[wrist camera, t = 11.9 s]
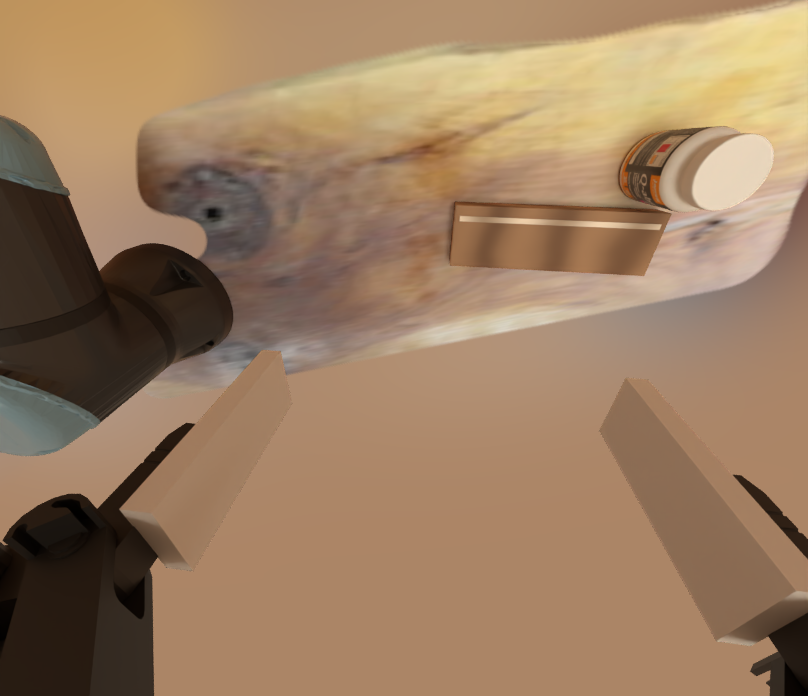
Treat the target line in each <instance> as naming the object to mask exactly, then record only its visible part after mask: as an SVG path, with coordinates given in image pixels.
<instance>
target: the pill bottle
mask: <svg viewBox="0 0 808 696" xmlns="http://www.w3.org/2000/svg"><path fill="white" fill-rule="evenodd" d="M773 160H774V150H773V147H772V145H771V143H770V141H769V140H768V139H767V138H765V137H764V136H761V135H758V134H751V133H740V132H739V131H737V130H736V129H733V128H729V127H725V126H717V127H705V128H692V129H681V130H669V131H662V132H658V133H655V134H652V135H650V136H648V137H646V138H644V139H643V140H641V141H640V142H639V143H638V144H637V145H636V146H635V147H634V148H633V149H632V150H631V151H630V152H629V154H628V155H627V157H626V159H625V161H624V163H623V165H622V167H621V171H620V186H621V189H622V190H623V192H624V193H625V195H627V196H628V197H629V198H631V199H633V200H636V201H639V202H643V203H646V204H650V205H654V206H658V207H661V208H665V209H668V210H671V211H676V212H693V211H698V210H701V209H703V210H709V211H718V210H724V209H728V208H730V207H733V206H735V205H737V204H739V203H741V202H742V201H744V200H745V199H747V198H748V197H750V196H751V195H752V194H753V193H754V192H755V191H756V190H757V189H758V188H759V187H760V186H761V185H762V183H763V182H764V181H765V179H766V178H767V176H768V174H769V172H770V170H771V168H772V165H773Z"/></svg>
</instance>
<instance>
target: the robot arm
mask: <svg viewBox="0 0 808 696" xmlns="http://www.w3.org/2000/svg"><path fill="white" fill-rule="evenodd" d="M68 195H70V193H69V190H68V189H67V188H65V187H64V186H63V184H62V182H61V180H60V178H59V176H58V174H57V172H56V170H55V168H54V166H53V164H52V162H51V160H50V158H49V156H48V153H47V151H46V149H45V147H44V146H43V144H42V142H41V141H40V140H39V138H38V137H37V136H36V135H35V134H34V133H33V132H31V131H30V130H29V129H28V128H26V127H25V126H23V125H21V124H20V123H18V122H16V121H14V120H12V119H9V118H7V117H4V116H1V115H0V452H1V453H7V454H13V455H19V456H39V455H46V454H50V453H52V452H56V451H58V450H60V449H62V448H64V447H65V446H67V445H68V444H70V443H71V442H73V441H74V440H75V439H77V438H78V437H80V436H81V435H82V434H84V433H85V432H87V431H88V430H89V429H93V428H95V427H96V426H97V425H98V424H100V422H102V421H103V420H104V419H105V418H106V417H108V416H109V415H110V414H111V413H112V412H114V411H115V410H116V409H117V408H118V407H120V406H121V405H122V404H123V403H125V402H126V401H127V400H128V399H129V398H131V397H132V396H133V395H134V394H135V393H137V392H138V391H139V390H140V389H142V388H143V387H144V386H145V385H146V384H148V383H149V382H150V381H151V380H152V379H154V378H155V377H156V376H157V375H158V374H160V373H161V372H162V371H163V370H165V369H166V368H167V367H168V366H170V365H171V364H173V363H176V362H179V361H182V360H185V359H188V358H191V357H194V356H197V355H199V354H202V353H205V352H207V351H209V350H211V349H213V348H214V347H215V346H216V345H218V344H219V343H220V342H221V341H222V340H223V339H224V338H225V337H226V336H227V335H228V333H229V331H230V329H231V326H232V308H231V304H230V301H229V298H228V296H227V294H226V292H225V290H224V288H223V287H222V285H221V284H220V282H219V281H218V279H217V278H216V277H215V276H214V275H213V274H212V272H211V271H210V270H209V269H208V268H207V267H205V266H204V265H203V264H202V263H201V262H199V261H198V260H197V259H195V258H194V257H192V256H191V255H189V254H187V253H185V252H183V251H181V250H179V249H177V248H174V247H171V246H168V245H163V244H156V243H152V244H151V243H150V244H142V245H139V246H136V247H133V248H130V249H127V250H124V251H122V252H120V253H119V254H117V255H116V256H115V257H114V258H112V260H110V261H109V263H107V264H106V265H105V266H104V267H103V268H102V269H101V270H100V271H99V270H98V268H97V266H96V263H95V261H94V258H93V256H92V253H91V251H90V249H89V247H88V244H87V242H86V239H85V237H84V235H83V232H82V230H81V227H80V225H79V222H78V220H77V217H76V214H75V212H74V209H73V207H72V204H71V202H70V199H69V198H68ZM291 404H292V400H291V396H290V391H289V387H288V383H287V378H286V373H285V369H284V364H283V360H282V356H281V351H269V350H262V351H261V352H260V353H259V354H258V355H257V356H256V357H255V358H254V360H253V361H252V362H251V363H250V364H249V365H248V366H247V367H246V368H245V370H244V371H243V372H242V373H241V374H240V375H239V376H238V377H237V379H236V380H235V381H234V382H233V383H232V384H231V385H230V386H229V387H228V389H227V390H226V391H225V392H224V393H223V394H222V395H221V397H219V399H218V400H217V401H216V402H215V403H214V404H213V405H212V406H211V408H210V409H209V410H208V411H207V412H206V413H205V414H204V415H203V416H202V418H201V419H200V420H199V421H198V422H197V423H196V424H192V423H185V424H184V425H182V426H181V427H179V428H178V429H176V430H175V431H173V432H172V433H170V434H169V435H168V436H167V437H166V438H165V439H164V440H163V441H162V442H161V443H160V444H159V445H158V446H157V447H156V448H155V451H152V452H151V453H150V454H149V456H148V457H147V458H146V459H145V460H144V463H141V464H140V465H139V466H138V467H137V468H136V469H135V470H134V471H133V472H132V473H131V474H130V475H129V476H128V477H127V479H125V480H124V482H123V483H122V484H121V485H120V486H119V487H118V488H117V489H116V490H115V491H114V492H113V493H112V494H111V495H110V496H109V497H108V498H107V499H106V500H105V501H104V502H103V503H102V504H101V506H100V507H99V508H98V509H96V507H95V506H94V505H93V504H92V503H91V502H90V501H89V499H88V498H86V497H85V496H83V495H81V494H66V495H63V496H59V497H55V498H53V499H51V500H48V501H46V502H44V503H42V504H40V505H38V506H37V507H35V508H34V509H32V510H31V511H29V512H28V513H26V514H25V515H23V516H22V517H21V518H20V519H19V520H18V521H17V522H16V523H15V524H14V525H13V526H12V527H11V528H10V529H9V531H8V532H7V534H6V536H5V537H4V539H3V541H4V542H5V543H6V544H8V545H3V544H2V543H1V542H0V696H154V667H153V604H152V603H153V601H152V575H151V572H150V568H151V566H152V565H153V563H154V562H155V560H156V559H157V557H158V558H159V559H160V561H161V562H162V563H163V564H164V566H165V567H166V568H172V569H180V570H187V571H194V569H195V567H196V565H197V564H198V562H199V560H200V559H201V557H202V555H203V554H204V552H205V550H206V549H207V547H208V545H209V543H210V542H211V540H212V538H213V537H214V535H215V533H216V532H217V530H218V528H219V527H220V525H221V523H222V521H223V520H224V518H225V516H226V515H227V513H228V511H229V510H230V508H231V506H232V504H233V502H234V501H235V499H236V497H237V496H238V494H239V493H240V491H241V489H242V488H243V486H244V484H245V482H246V481H247V479H248V477H249V476H250V474H251V472H252V471H253V469H254V467H255V466H256V464H257V462H258V460H259V459H260V457H261V455H262V454H263V452H264V450H265V448H266V447H267V445H268V443H269V442H270V440H271V438H272V437H273V435H274V433H275V431H276V430H277V428H278V427H279V425H280V423H281V421H282V420H283V418H284V416H285V415H286V413H287V411H288V410H289V408H290V406H291ZM600 433H601V435H602V437H603V438H604V440H605V442H606V444H607V446H608V447H609V449H610V451H611V453H612V454H613V456H614V458H615V460H616V462H617V464H618V465H619V467H620V469H621V471H622V473H623V474H624V476H625V478H626V480H627V482H628V483H629V485H630V487H631V489H632V490H633V492H634V494H635V496H636V498H637V500H638V501H639V503H640V505H641V506H642V509H643V510H644V512H645V514H646V516H647V518H648V519H649V521H650V523H651V525H652V527H653V528H654V530H655V532H656V534H657V535H658V537H659V539H660V541H661V542H662V544H663V546H664V548H665V550H666V551H667V553H668V555H669V557H670V559H671V561H672V562H673V564H674V566H675V568H676V570H677V571H678V573H679V575H680V577H681V579H682V580H683V582H684V584H685V586H686V587H687V589H688V591H689V593H690V595H691V596H692V598H693V600H694V602H695V604H696V606H697V607H698V609H699V611H700V613H701V615H702V616H703V618H704V620H705V622H706V623H707V625H708V627H709V629H710V631H711V633H712V634H713V636H714V638H715V640H716V641H719V642H726V643H734V644H741V645H749V646H752V645H753V644H755V643H757V642H759V641H761V640H762V639H764V638H766V637H769V638H770V639H771V641H772V642H773V644H774V645H775V647H776V648H777V650H778V652H776V653H774V654H772V655H770V656H768V657H766V658H765V659H763V660H761V661H758V662H757V663H755V664H753V666H752V668H751V671H750V672H752V673H753V674H754V675H756V676H758V675H760V674H762V673H765V672H767V671H769V670H771V674H770V680H769V681H767V682H766V684H768V685H769V686H770V696H808V539H807V538H806V537H805V536H804V535H803V534H802V533H799V532H798V528H797V527H796V526H795V525H794V524H793V523H792V522H791V521H790V520H789V519H788V518H787V517H786V516H783V514H782V511H781V510H780V509H779V508H778V507H777V506H776V505H775V504H774V503H773V502H772V501H771V500H770V498H769V497H767V495H766V494H765V493H764V492H763V491H761V490H760V489H758V488H757V487H756V486H754V485H753V484H752V483H750V482H749V481H747V480H746V479H745V478H744V477H742V476H740V475H732V474H731V473H730V472H729V471H728V469H727V468H726V467H725V466H724V465H723V464H722V463H721V461H720V460H719V459H718V458H717V457H716V456H715V455H714V454H713V452H712V451H711V450H710V449H709V448H708V447H707V446H706V445H705V443H704V442H703V441H702V440H701V439H700V438H699V437H698V436H697V434H695V432H694V431H693V430H692V429H691V428H690V427H689V425H688V424H687V423H686V422H685V421H684V420H683V419H682V418H681V416H680V415H679V414H678V413H677V412H676V411H675V410H674V409H673V407H672V406H671V405H670V404H669V403H668V402H667V401H666V400H665V398H664V397H663V396H662V395H661V394H660V393H659V392H658V391H657V389H655V387H654V386H653V385H652V384H651V383H650V382H649V381H648V380H646V379H634V378H626V379H625V380H624V382H623V385H622V386H621V389H620V391H619V392H618V395H617V396H616V398H615V401H614V403H613V405H612V406H611V409H610V410H609V413H608V414H607V416H606V419H605V420H604V422H603V425H602V426H601V428H600Z"/></svg>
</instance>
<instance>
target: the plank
mask: <svg viewBox="0 0 808 696" xmlns="http://www.w3.org/2000/svg"><path fill="white" fill-rule="evenodd" d="M670 216H671V213H667V212H663V211H660V210H656V209H631V208H606V207H580V206H554V205H528V204H502V203H476V202H455V208H454V218H453V228H452V238H451V248H450V265H451V266H469V267H488V268H507V269H525V270H544V271H563V272H581V273H600V274H619V275H637V276H644V275H645V272H646V270H647V268H648V266H649V263H650V261H651V259H652V257H653V254H654V252H655V250H656V248H657V245H658V243H659V241H660V239H661V236H662V234H663V232H664V230H665V227H666V225H667V223H668V221H669V218H670Z"/></svg>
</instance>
